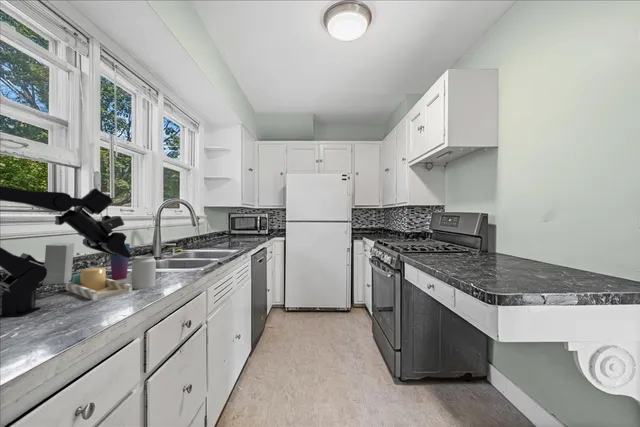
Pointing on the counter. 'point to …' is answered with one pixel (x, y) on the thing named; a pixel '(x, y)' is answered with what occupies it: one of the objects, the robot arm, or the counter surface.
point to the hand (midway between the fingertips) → (123, 255)
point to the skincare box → (58, 263)
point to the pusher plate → (76, 279)
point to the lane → (110, 290)
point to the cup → (119, 265)
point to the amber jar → (93, 278)
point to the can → (143, 272)
